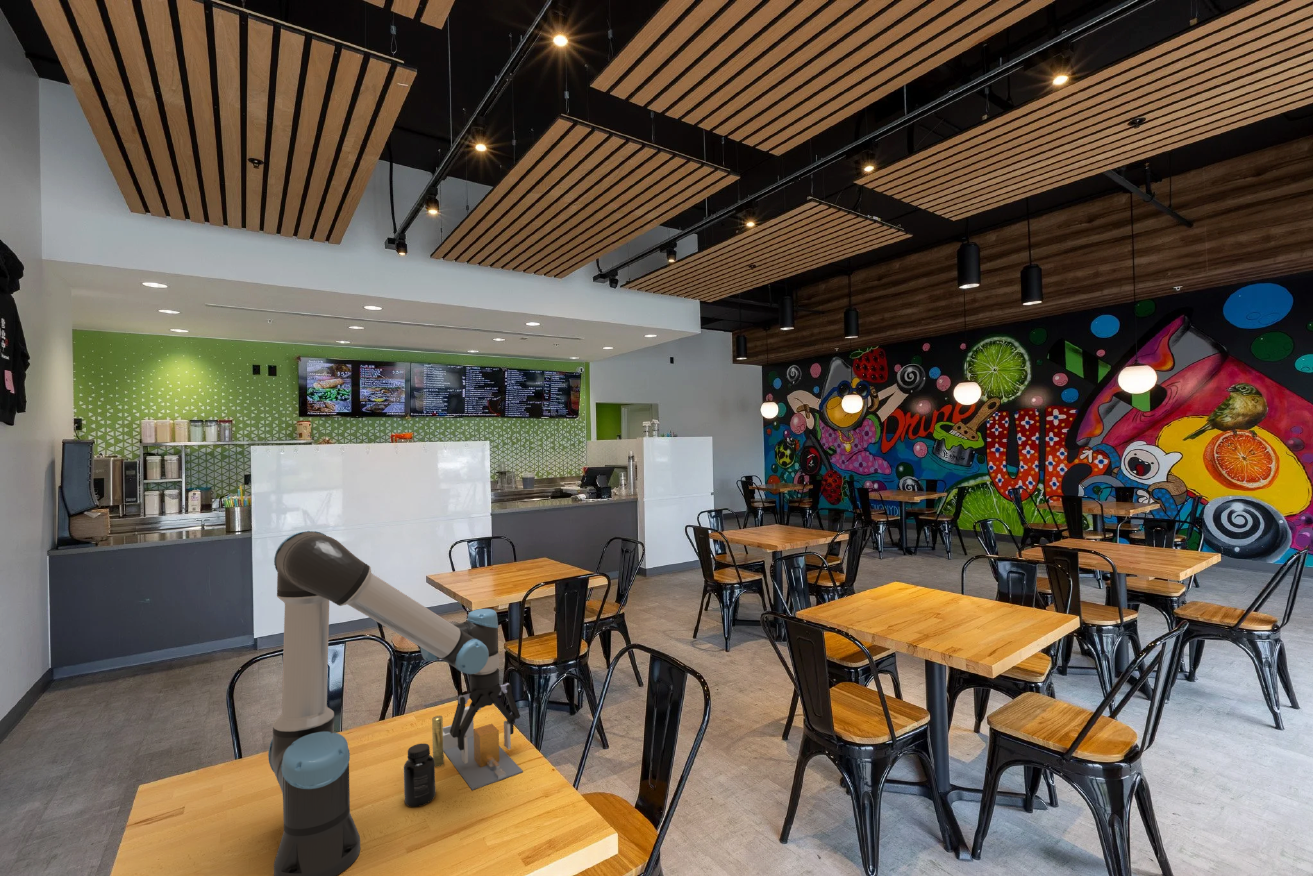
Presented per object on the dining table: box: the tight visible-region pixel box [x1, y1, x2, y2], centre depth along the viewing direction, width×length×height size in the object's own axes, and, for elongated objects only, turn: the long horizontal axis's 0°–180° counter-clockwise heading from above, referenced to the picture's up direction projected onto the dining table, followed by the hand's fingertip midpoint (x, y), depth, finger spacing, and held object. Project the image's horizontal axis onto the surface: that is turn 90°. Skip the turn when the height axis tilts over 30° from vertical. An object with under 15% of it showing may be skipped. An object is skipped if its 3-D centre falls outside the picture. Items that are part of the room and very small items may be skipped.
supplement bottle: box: [403, 742, 437, 808], centre depth 142 cm, size 7×7×12 cm
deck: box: [443, 705, 524, 791], centre depth 161 cm, size 30×13×8 cm, turn 35°
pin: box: [431, 715, 445, 768], centre depth 158 cm, size 3×3×12 cm
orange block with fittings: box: [474, 723, 506, 780], centre depth 154 cm, size 14×5×8 cm, turn 35°
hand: (486, 754), depth 158 cm, fingers open, 11 cm apart
